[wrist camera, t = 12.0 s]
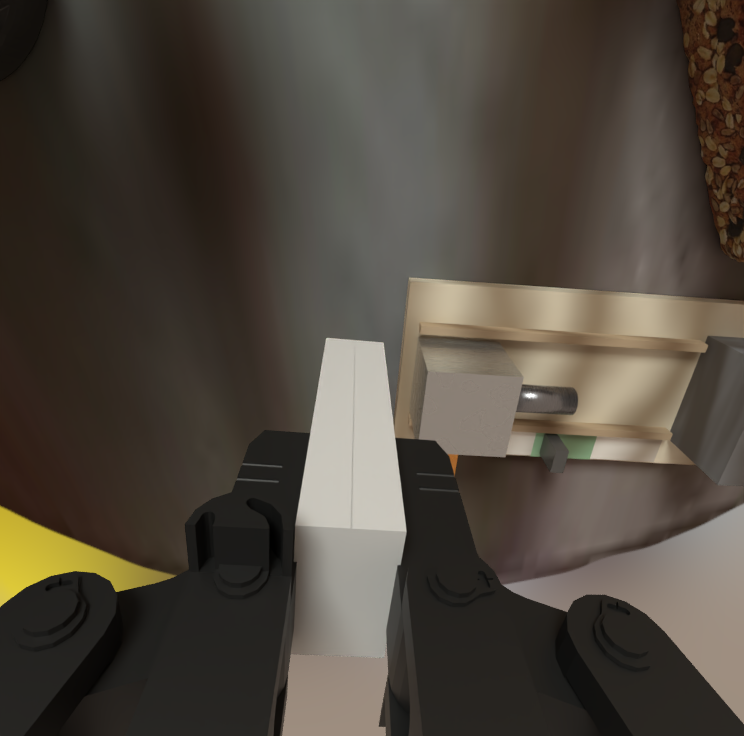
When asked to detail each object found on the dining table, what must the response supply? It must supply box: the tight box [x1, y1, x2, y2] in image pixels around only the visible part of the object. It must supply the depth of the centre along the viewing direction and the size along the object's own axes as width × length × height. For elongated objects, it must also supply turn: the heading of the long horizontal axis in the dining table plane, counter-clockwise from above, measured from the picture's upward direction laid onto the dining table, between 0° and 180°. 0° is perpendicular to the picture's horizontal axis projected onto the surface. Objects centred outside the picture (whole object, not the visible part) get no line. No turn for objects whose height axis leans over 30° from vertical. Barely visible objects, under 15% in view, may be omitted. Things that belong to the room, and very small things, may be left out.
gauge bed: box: [393, 278, 744, 486], centre depth 34 cm, size 26×14×7 cm, turn 86°
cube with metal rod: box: [410, 337, 578, 476], centre depth 34 cm, size 11×11×6 cm
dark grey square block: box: [539, 433, 569, 473], centre depth 37 cm, size 1×2×2 cm, turn 176°
